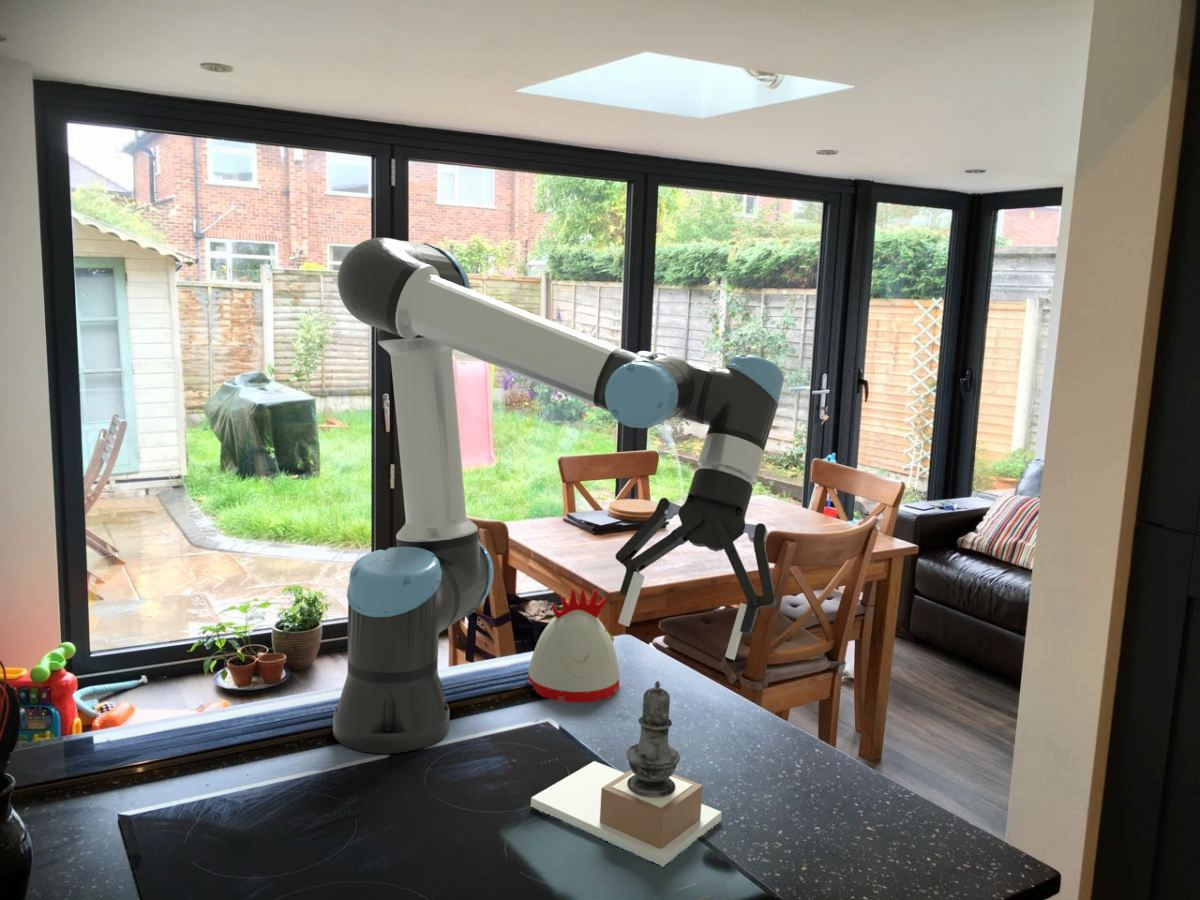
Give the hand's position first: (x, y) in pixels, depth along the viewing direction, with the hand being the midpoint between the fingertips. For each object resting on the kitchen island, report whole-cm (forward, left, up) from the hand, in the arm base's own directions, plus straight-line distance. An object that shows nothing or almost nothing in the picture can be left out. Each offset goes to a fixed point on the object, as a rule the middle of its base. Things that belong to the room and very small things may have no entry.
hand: (675, 641), depth 115 cm
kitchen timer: (-27, +15, -18) cm, 36 cm away
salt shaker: (+5, -12, -12) cm, 18 cm away
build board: (+1, -11, -18) cm, 20 cm away
